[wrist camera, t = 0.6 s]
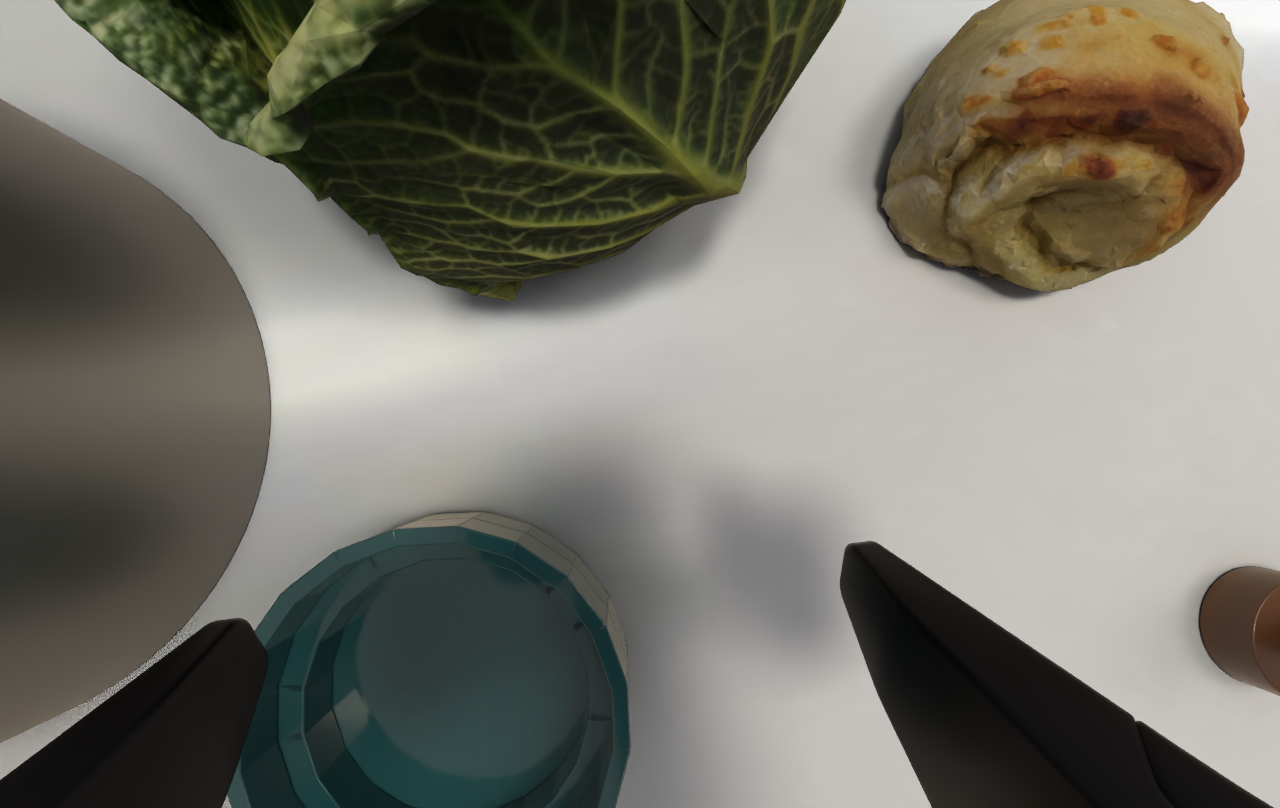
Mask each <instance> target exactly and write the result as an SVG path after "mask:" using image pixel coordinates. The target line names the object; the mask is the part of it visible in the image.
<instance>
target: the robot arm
mask: <svg viewBox="0 0 1280 808" xmlns="http://www.w3.org/2000/svg"><path fill="white" fill-rule="evenodd" d="M840 590H841V594H842V598H843V601H844V603H845V606H846V609H847V612H848V614H849V617H850V620H851V623H852V625H853V628H854V631H855V634H856V636H857V639H858V642H859V645H860V648H861V650H862V653H863V656H864V659H865V661H866V664H867V667H868V670H869V672H870V675H871V678H872V680H873V683H874V686H875V688H876V691H877V693H878V696H879V698H880V700H881V702H882V704H883V707H884V709H885V711H886V713H887V715H888V717H889V719H890V721H891V724H892V726H893V728H894V730H895V732H896V734H897V736H898V738H899V740H900V742H901V744H902V746H903V748H904V750H905V753H906V755H907V757H908V759H909V761H910V763H911V765H912V767H913V769H914V771H915V773H916V775H917V777H918V780H919V782H920V784H921V786H922V788H923V790H924V792H925V794H926V796H927V798H928V800H929V802H930V804H931V806H932V808H1273V807H1272V806H1270V805H1268V804H1267V803H1265V802H1264V801H1262V800H1260V799H1259V798H1257V797H1256V796H1254V795H1252V794H1251V793H1249V792H1247V791H1246V790H1244V789H1243V788H1241V787H1239V786H1238V785H1236V784H1235V783H1233V782H1232V781H1230V780H1229V779H1227V778H1226V777H1224V776H1223V775H1221V774H1220V773H1218V772H1217V771H1215V770H1214V769H1212V768H1210V767H1209V766H1207V765H1206V764H1204V763H1203V762H1201V761H1200V760H1198V759H1197V758H1195V757H1194V756H1192V755H1191V754H1189V753H1188V752H1186V751H1185V750H1183V749H1181V748H1180V747H1178V746H1177V745H1175V744H1174V743H1173V742H1171V741H1170V740H1168V739H1167V738H1165V737H1164V736H1162V735H1161V734H1159V733H1158V732H1156V731H1155V730H1153V729H1152V728H1150V727H1149V726H1147V725H1146V724H1144V723H1143V722H1141V721H1136V722H1135V720H1134V717H1133V716H1132V715H1131V714H1129V713H1128V712H1126V711H1125V710H1123V709H1122V708H1120V707H1119V706H1117V705H1116V704H1115V703H1113V702H1112V701H1110V700H1109V699H1107V698H1106V697H1104V696H1103V695H1101V694H1100V693H1098V692H1097V691H1095V690H1094V689H1092V688H1091V687H1089V686H1088V685H1086V684H1085V683H1083V682H1082V681H1081V680H1079V679H1078V678H1076V677H1075V676H1073V675H1072V674H1070V673H1069V672H1067V671H1066V670H1064V669H1063V668H1061V667H1060V666H1058V665H1057V664H1055V663H1054V662H1052V661H1051V660H1050V659H1048V658H1047V657H1045V656H1044V655H1042V654H1041V653H1039V652H1038V651H1036V650H1035V649H1033V648H1032V647H1030V646H1029V645H1027V644H1026V643H1024V642H1023V641H1021V640H1020V639H1018V638H1017V637H1016V636H1014V635H1013V634H1011V633H1010V632H1008V631H1007V630H1005V629H1004V628H1002V627H1001V626H999V625H998V624H996V623H995V622H993V621H992V620H990V619H989V618H987V617H986V616H984V615H983V614H982V613H980V612H979V611H977V610H976V609H974V608H973V607H971V606H970V605H968V604H967V603H965V602H964V601H962V600H961V599H959V598H958V597H956V596H955V595H953V594H952V593H951V592H949V591H948V590H946V589H945V588H943V587H942V586H940V585H939V584H937V583H936V582H934V581H933V580H931V579H930V578H928V577H927V576H925V575H924V574H922V573H921V572H919V571H918V570H917V569H915V568H914V567H912V566H911V565H909V564H908V563H906V562H905V561H903V560H902V559H900V558H899V557H897V556H896V555H894V554H893V553H891V552H890V551H888V550H887V549H885V548H884V547H883V546H881V545H880V544H878V543H876V542H873V541H867V542H858V543H851V544H848V545H847V547H846V548H845V551H844V558H843V564H842V570H841V577H840ZM268 666H269V657H268V653H267V651H266V649H265V647H264V646H263V644H262V643H261V641H260V640H259V638H258V636H257V635H256V633H255V632H254V630H253V629H252V627H251V625H250V624H249V623H248V621H246V620H244V619H242V618H235V619H227V620H219V621H214V622H211V623H209V624H207V625H206V626H204V627H203V628H202V629H200V630H199V631H198V632H196V633H195V634H194V635H192V636H191V637H190V638H188V639H187V640H186V641H184V642H183V643H182V644H180V645H179V646H178V647H176V648H175V649H174V650H172V651H171V652H170V653H168V654H167V655H166V656H164V657H163V658H162V659H160V660H159V661H158V662H157V663H155V664H154V665H153V666H151V667H150V668H149V669H147V670H146V671H145V672H143V673H142V674H141V675H139V676H138V677H137V678H135V679H134V680H133V681H131V682H130V683H129V684H127V685H126V686H125V687H123V688H122V689H121V690H119V691H118V692H117V693H115V694H114V695H113V696H111V697H110V698H109V699H107V700H106V701H105V702H103V703H102V704H101V705H99V706H98V707H97V708H95V709H94V710H93V711H91V712H90V713H89V714H87V715H86V716H85V717H83V718H82V719H81V720H80V721H78V722H77V723H76V724H74V725H73V726H72V727H70V728H69V729H68V730H66V731H65V732H64V733H62V734H61V735H60V736H58V737H57V738H56V739H54V740H53V741H52V742H50V743H49V744H48V745H46V746H45V747H44V748H42V749H41V750H40V751H38V752H37V753H36V754H34V755H33V756H32V757H30V758H29V759H28V760H26V761H25V762H24V763H22V764H21V765H20V766H18V767H17V768H16V769H14V770H13V771H12V772H10V773H9V774H8V775H6V776H5V777H4V778H3V779H1V780H0V808H222V806H223V803H224V801H225V798H226V796H227V793H228V791H229V788H230V786H231V783H232V780H233V777H234V774H235V772H236V769H237V766H238V763H239V760H240V757H241V754H242V751H243V747H244V744H245V741H246V738H247V735H248V732H249V728H250V725H251V722H252V719H253V716H254V713H255V709H256V706H257V703H258V700H259V697H260V694H261V690H262V687H263V684H264V681H265V678H266V675H267V671H268Z"/></svg>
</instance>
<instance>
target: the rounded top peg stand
mask: <svg viewBox="0 0 1280 808" xmlns="http://www.w3.org/2000/svg"><path fill="white" fill-rule="evenodd" d="M1200 627H1201V634H1202V638H1203V641H1204V644H1205V646H1206V649H1207V650H1208V652H1209V654H1210V656H1211V657H1212V659H1213V660H1214V661H1215V663H1216V664H1217V665H1218V666H1219V667H1220V668H1221V669H1222V670H1224V671H1225V672H1226V673H1227V674H1229V675H1230V676H1232V677H1233V678H1236V679H1238V680H1240V681H1242V682H1245V683H1247V684H1250V685H1253V686H1255V687H1258V688H1261V689H1263V690H1266V691H1268V692H1271V693H1274V694H1276V695H1279V696H1280V571H1276V570H1271V569H1266V568H1260V567H1243V568H1239V569H1235V570H1232V571H1230V572H1228V573H1226V574H1224V575H1223V576H1222V577H1220V578H1219V579H1218V580H1217V581H1216V582H1215V583H1214V584H1213V585H1212V586H1211V588H1210V589H1209V591H1208V592H1207V594H1206V596H1205V599H1204V601H1203V604H1202V609H1201V615H1200Z"/></svg>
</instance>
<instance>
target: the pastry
mask: <svg viewBox="0 0 1280 808" xmlns="http://www.w3.org/2000/svg"><path fill="white" fill-rule="evenodd" d="M1243 61H1244V49H1243V48H1242V47H1241V45H1240V44H1239V43H1238V42H1237V40H1236V39H1235V37H1234V36H1233V34H1232V30H1231V26H1230V23H1229V22H1228V21H1227V20H1226V18H1225V15H1224V14H1223V13H1218V12H1217V11H1215V10H1214V9H1212V8H1211V7H1210V6H1208V5H1207V4H1205V3H1204V2H1200V3H1194V2H1192V1H1189V0H1000V1H998V2H997V3H995V4H993V5H992V6H990V7H988V8H987V9H985V10H981V11H979V12H977V13H975V14H974V15H973V16H972V17H971V18H970V19H969V20H968V21H967V22H966V23H965V25H964V26H963V27H962V28H961V29H960V30H959V31H958V32H957V34H956V35H955V36H954V37H953V38H952V39H951V40H950V42H949V43H948V44H947V45H946V46H945V48H944V49H943V50H942V51H941V52H940V53H939V54H938V55H937V56H936V57H935V58H934V59H933V60H932V61H931V63H930V64H929V66H928V68H927V69H926V72H925V75H924V77H923V78H922V79H921V81H920V82H919V83H918V84H917V86H916V87H915V89H914V90H913V92H912V94H911V96H910V97H909V98H908V99H907V101H906V102H905V105H904V120H903V127H902V137H901V139H900V142H899V144H898V146H897V147H896V149H895V151H894V153H893V155H892V157H891V161H890V165H889V169H888V175H887V181H886V182H885V183H884V184H885V186H886V191H885V193H884V195H883V200H882V204H881V206H880V207H882V208H884V209H885V211H886V214H887V215H888V216H889V217H890V220H889V225H888V226H889V228H890V229H891V230H892V231H893V233H894V234H895V237H896V238H898V239H899V240H900V242H901V243H904V244H908V245H909V246H912V247H913V248H914V249H916V250H917V251H920V252H922V253H924V254H926V255H927V256H926V258H927V259H929V260H933V261H936V262H942V263H944V266H947V267H951V268H955V267H957V266H960V267H962V268H965V267H969V268H970V270H976V272H977V274H978V275H979V276H982V277H987V278H992V279H1000V280H1007V281H1011V282H1012V283H1014V284H1016V285H1019V286H1023V287H1026V288H1029V289H1033V290H1039V291H1045V292H1053V291H1059V290H1065V289H1072V287H1075V286H1077V285H1079V284H1083V283H1086V282H1089V281H1091V280H1094V279H1096V278H1099V277H1101V276H1103V275H1105V274H1107V273H1110V272H1112V271H1115V270H1118V269H1122V268H1125V267H1130V266H1135V265H1138V264H1141V263H1143V262H1145V261H1149V260H1151V259H1153V258H1154V257H1156V256H1157V255H1159V254H1162V253H1164V252H1165V251H1166V250H1168V249H1169V248H1171V247H1172V246H1174V245H1176V244H1177V243H1179V242H1180V241H1181V240H1183V239H1184V238H1185V237H1186V236H1187V235H1189V234H1190V233H1191V232H1192V231H1193V230H1194V229H1195V228H1196V227H1197V226H1198V225H1199V224H1200V223H1201V222H1202V220H1203V219H1204V218H1205V216H1206V215H1207V214H1208V212H1209V211H1210V210H1211V209H1212V208H1213V206H1214V205H1215V204H1216V203H1217V202H1218V201H1219V200H1220V199H1221V197H1223V196H1224V195H1225V193H1226V192H1227V190H1228V189H1229V188H1230V187H1231V186H1232V184H1233V183H1234V182H1235V181H1236V180H1237V179H1238V177H1239V176H1240V173H1241V170H1242V166H1243V163H1244V152H1245V150H1244V146H1243V142H1242V138H1241V134H1240V127H1241V126H1242V125H1243V123H1244V121H1245V119H1246V117H1247V114H1248V111H1249V107H1248V106H1247V104H1246V102H1245V101H1244V97H1245V95H1244V92H1243V87H1242V69H1243Z"/></svg>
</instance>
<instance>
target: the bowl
mask: <svg viewBox="0 0 1280 808" xmlns="http://www.w3.org/2000/svg"><path fill="white" fill-rule="evenodd" d="M254 632H255V633H256V635H257V636H258V638H259V640H260V641H261V643H262V644H263V646H264V647H265V649H266V651H267V653H268V657H269V666H268V671H267V675H266V678H265V681H264V684H263V687H262V690H261V694H260V697H259V700H258V703H257V706H256V709H255V713H254V716H253V719H252V722H251V725H250V728H249V732H248V735H247V738H246V741H245V744H244V747H243V751H242V754H241V757H240V760H239V763H238V766H237V769H236V772H235V774H234V777H233V780H232V783H231V786H230V788H229V791H228V793H227V795H228V798H229V801H230V804H231V807H232V808H616V804H617V800H618V796H619V793H620V789H621V785H622V781H623V777H624V774H625V770H626V766H627V762H628V758H629V755H630V748H631V738H630V711H629V685H628V662H627V644H626V640H625V637H624V635H623V632H622V629H621V626H620V624H619V621H618V618H617V615H616V613H615V610H614V607H613V604H612V602H611V599H610V596H609V595H608V592H607V591H606V590H605V589H604V587H603V586H602V585H601V584H600V582H599V581H598V580H597V578H596V577H595V576H594V575H593V573H592V572H591V571H590V569H589V568H588V567H587V566H586V564H585V563H584V562H583V561H582V559H581V558H580V557H579V555H577V554H576V553H575V552H574V551H572V550H571V549H569V548H568V547H566V546H565V545H563V544H562V543H560V542H559V541H557V540H556V539H554V538H553V537H551V536H550V535H548V534H547V533H545V532H544V531H542V530H541V529H539V528H538V527H536V526H534V525H532V524H529V523H525V522H521V521H518V520H514V519H510V518H507V517H503V516H499V515H496V514H492V513H488V512H485V513H484V512H469V513H449V514H434V515H430V516H427V517H424V518H422V519H419V520H416V521H414V522H411V523H408V524H406V525H403V526H400V527H397V528H395V529H392V530H389V531H387V532H384V533H382V534H379V535H376V536H374V537H371V538H368V539H366V540H363V541H360V542H358V543H355V544H352V545H350V546H347V547H344V548H342V549H339V550H337V551H335V552H333V553H332V554H330V555H329V556H328V557H326V558H325V559H324V560H323V561H321V562H320V563H319V564H317V565H316V566H315V567H314V568H312V569H311V570H310V571H308V572H307V573H306V574H305V575H303V576H302V577H301V578H299V579H298V580H297V581H296V582H294V583H293V584H292V585H290V586H289V587H288V588H287V589H285V590H284V592H282V593H281V594H280V596H279V597H278V599H277V600H276V601H275V603H274V604H273V606H272V607H271V609H270V610H269V611H268V613H267V614H266V616H265V617H264V619H263V620H262V621H261V623H260V624H259V626H258V627H257V628H256V630H255V631H254Z"/></svg>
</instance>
